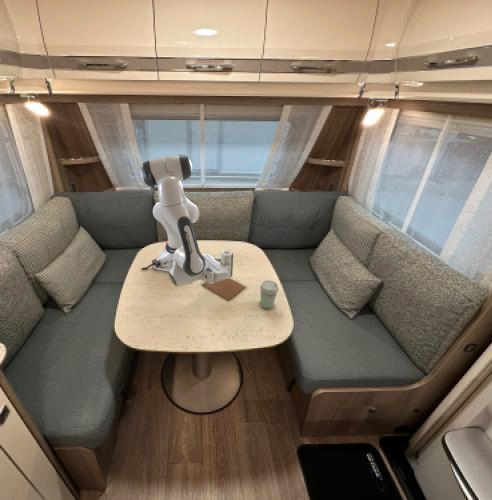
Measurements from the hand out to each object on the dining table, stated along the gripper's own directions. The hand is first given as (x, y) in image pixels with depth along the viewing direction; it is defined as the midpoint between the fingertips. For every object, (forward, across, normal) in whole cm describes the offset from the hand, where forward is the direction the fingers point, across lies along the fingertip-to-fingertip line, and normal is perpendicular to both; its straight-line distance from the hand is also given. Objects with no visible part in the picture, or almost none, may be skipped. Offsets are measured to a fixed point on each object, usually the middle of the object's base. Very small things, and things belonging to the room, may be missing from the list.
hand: (225, 262), depth 135 cm
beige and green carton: (0, 0, -8) cm, 8 cm away
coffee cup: (+10, +23, -15) cm, 29 cm away
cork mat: (-1, 0, -15) cm, 15 cm away
